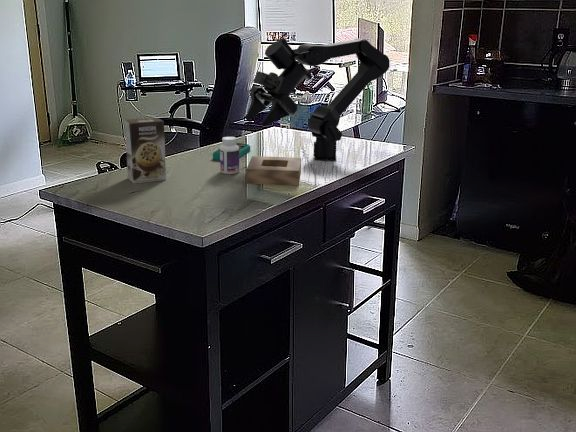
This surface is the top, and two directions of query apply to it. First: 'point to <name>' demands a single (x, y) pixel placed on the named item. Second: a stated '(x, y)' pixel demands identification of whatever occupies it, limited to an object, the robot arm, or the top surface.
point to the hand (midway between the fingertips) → (254, 122)
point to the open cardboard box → (273, 170)
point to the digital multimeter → (242, 151)
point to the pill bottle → (229, 156)
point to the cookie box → (145, 150)
